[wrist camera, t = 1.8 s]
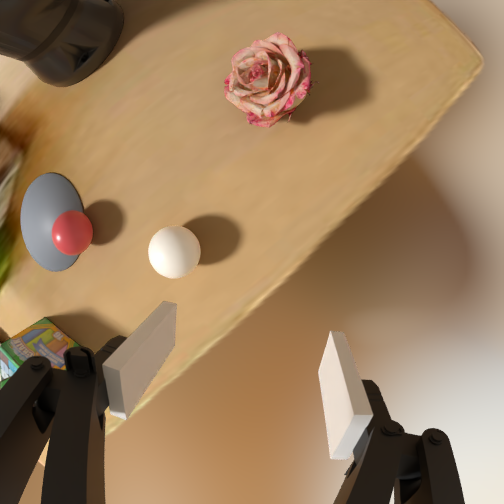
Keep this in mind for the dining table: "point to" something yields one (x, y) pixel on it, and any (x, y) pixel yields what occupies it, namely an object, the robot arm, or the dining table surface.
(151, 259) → the cue ball
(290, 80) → the flower
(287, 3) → the dining table surface
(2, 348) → the chalk box
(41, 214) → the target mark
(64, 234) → the red ball
